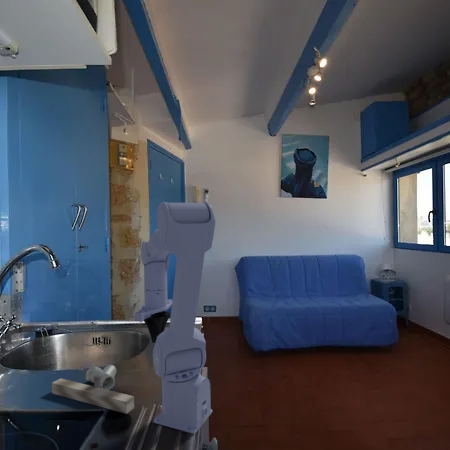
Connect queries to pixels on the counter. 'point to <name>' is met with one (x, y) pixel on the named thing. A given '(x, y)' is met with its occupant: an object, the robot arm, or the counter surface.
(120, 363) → the counter surface
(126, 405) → the light wooden bar
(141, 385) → the counter surface
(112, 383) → the pipe fitting
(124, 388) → the counter surface
